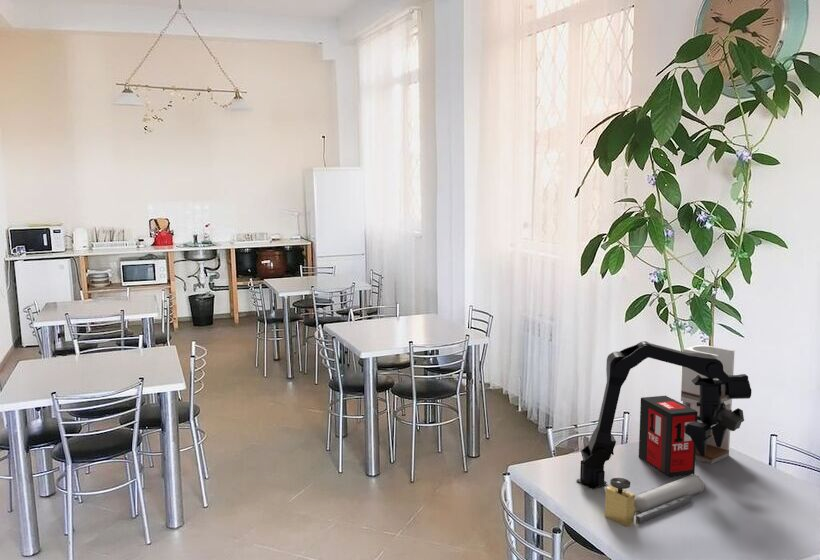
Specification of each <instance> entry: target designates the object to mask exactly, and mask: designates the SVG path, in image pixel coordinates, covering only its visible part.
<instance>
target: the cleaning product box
mask: <svg viewBox="0 0 820 560" xmlns="http://www.w3.org/2000/svg"><path fill="white" fill-rule="evenodd" d="M639 406H640V409H639V410H640V411H639V434H638V435H639V436H638V440H639V442H638V458H639V459H640V460H641V461H643V462H645V463H646V464H647V465H648V466H650V467H652V468H653V469H654V470H656V471H658V472H659V473H661V474H662V475H663V476H665V477H667V478H668V479H671V478H677V477H678V478H679V477H687V476H690V475H691V474H695V475H696V472H695V471H696V470H695V469H696V459H695V455H696V446H695V444H694V442H693V440H692V439H691V437H690V436H688V435H687V434H685V426H686V425H687V424H689V423H691V422H693V421H696V422H697V414H698V411H696V410H694V409H692V408H690V407H688V406H686V405H684V404H683V402H682V403H681V401H680V402H679V401H677V400H676V399H673V398H671V397H669V396H667V395H656V396H646V397H644V396H643V397H640V405H639Z"/></svg>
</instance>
